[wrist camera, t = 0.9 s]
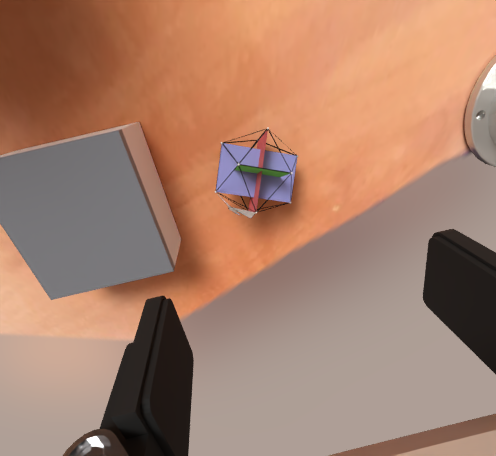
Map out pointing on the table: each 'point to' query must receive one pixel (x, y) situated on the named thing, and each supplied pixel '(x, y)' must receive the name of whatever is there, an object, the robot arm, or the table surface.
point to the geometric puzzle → (255, 174)
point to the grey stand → (88, 211)
